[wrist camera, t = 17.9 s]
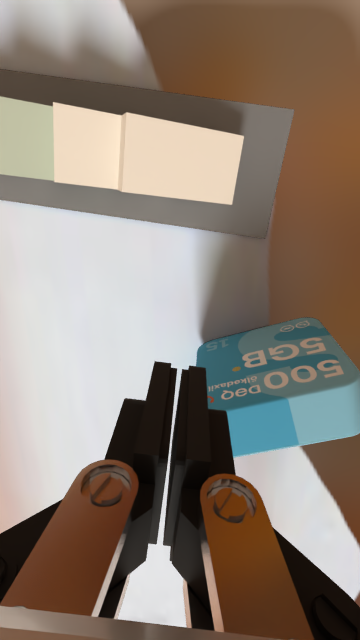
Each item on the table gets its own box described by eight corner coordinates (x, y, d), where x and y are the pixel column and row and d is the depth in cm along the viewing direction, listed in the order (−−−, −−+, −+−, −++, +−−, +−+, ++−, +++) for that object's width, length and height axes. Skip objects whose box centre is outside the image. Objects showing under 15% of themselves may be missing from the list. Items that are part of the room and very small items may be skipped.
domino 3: (221, 202, 29) (117, 189, 26) (232, 137, 27) (121, 115, 24) (231, 204, 27) (121, 191, 24) (244, 136, 25) (126, 112, 22)
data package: (314, 313, 33) (368, 379, 22) (322, 352, 34) (376, 433, 23) (197, 343, 35) (191, 416, 24) (209, 379, 36) (208, 464, 25)
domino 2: (164, 193, 29) (54, 180, 26) (171, 129, 27) (53, 106, 24) (171, 195, 27) (54, 182, 24) (179, 126, 26) (53, 101, 22)
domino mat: (-15, 196, 31) (-19, 196, 31) (-26, 66, 27) (-30, 64, 27) (264, 237, 30) (265, 238, 30) (293, 110, 27) (294, 109, 26)
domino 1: (108, 186, 29) (-8, 172, 26) (111, 121, 27) (-14, 97, 24) (111, 187, 28) (-13, 172, 25) (114, 118, 26) (-20, 92, 23)
